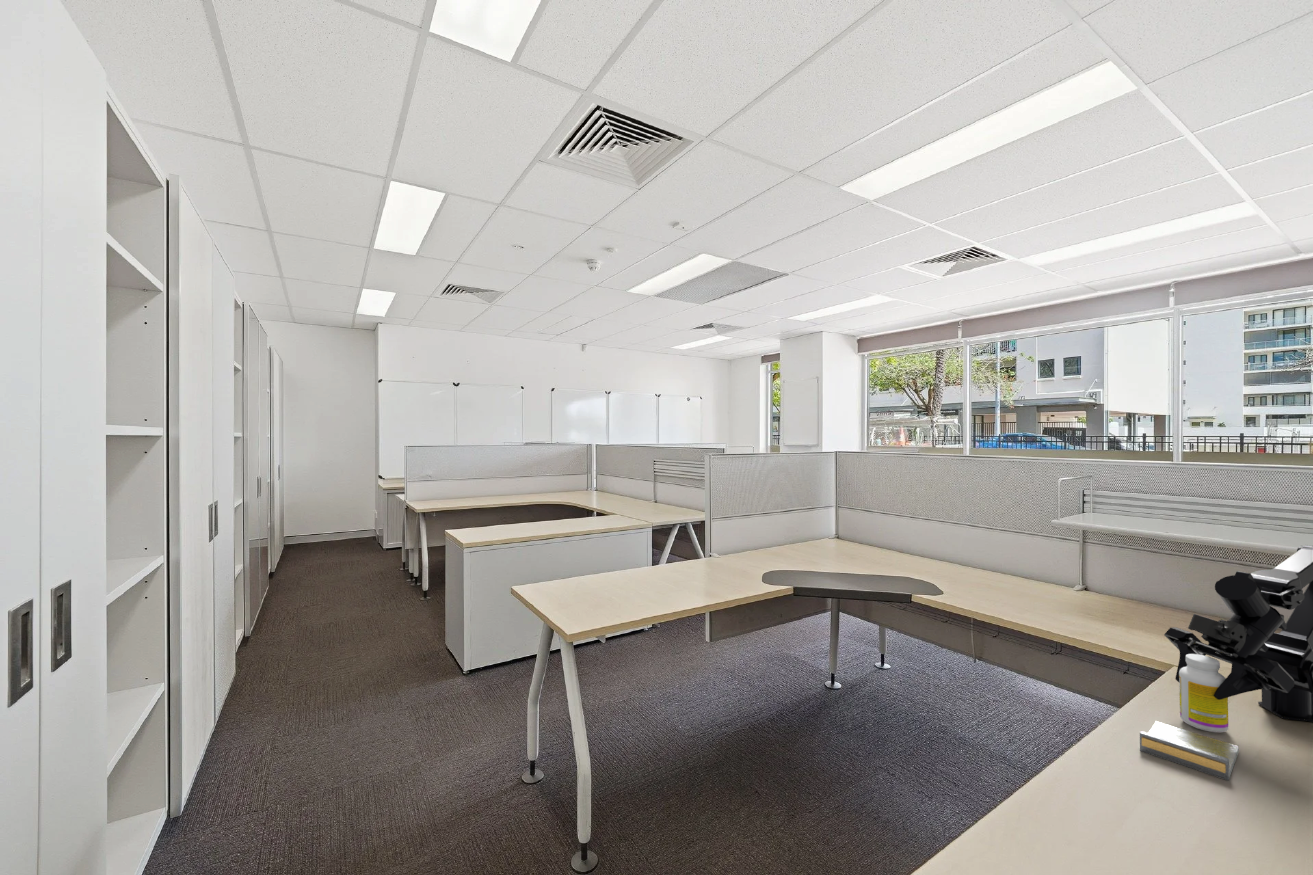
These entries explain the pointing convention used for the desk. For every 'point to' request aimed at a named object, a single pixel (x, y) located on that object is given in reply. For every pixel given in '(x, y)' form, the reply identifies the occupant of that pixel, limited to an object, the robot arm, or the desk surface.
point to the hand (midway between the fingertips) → (1196, 689)
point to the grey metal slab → (1190, 749)
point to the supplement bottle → (1202, 694)
